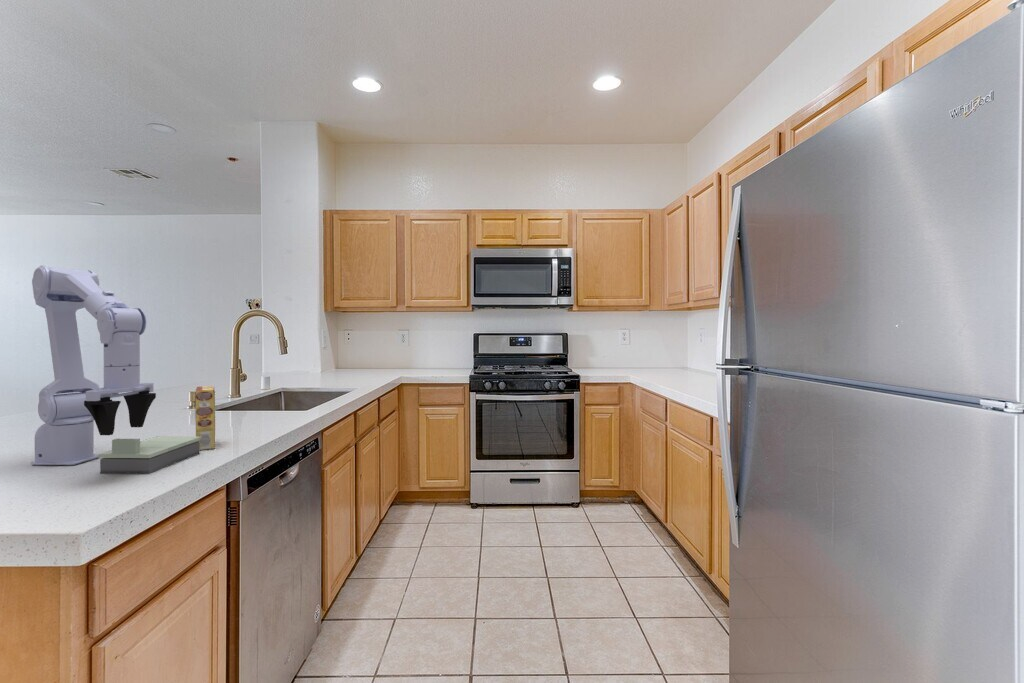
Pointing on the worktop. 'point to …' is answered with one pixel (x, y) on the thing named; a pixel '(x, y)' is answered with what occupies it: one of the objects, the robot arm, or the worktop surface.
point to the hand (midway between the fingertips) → (122, 430)
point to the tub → (148, 461)
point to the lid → (146, 446)
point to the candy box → (205, 416)
